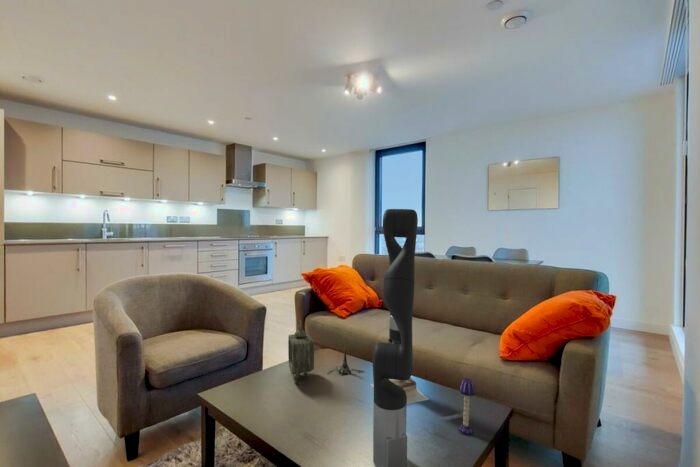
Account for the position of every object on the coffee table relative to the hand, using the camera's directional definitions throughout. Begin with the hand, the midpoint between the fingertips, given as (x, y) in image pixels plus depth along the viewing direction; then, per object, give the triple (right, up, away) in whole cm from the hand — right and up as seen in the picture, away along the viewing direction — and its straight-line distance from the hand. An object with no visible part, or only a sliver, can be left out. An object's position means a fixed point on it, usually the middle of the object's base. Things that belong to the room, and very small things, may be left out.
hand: (398, 369), depth 131 cm
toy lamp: (+19, -11, -23) cm, 31 cm away
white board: (0, -10, 0) cm, 10 cm away
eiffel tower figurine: (-21, -10, +19) cm, 30 cm away
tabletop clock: (-40, -9, +15) cm, 44 cm away
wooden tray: (0, -9, 0) cm, 9 cm away
